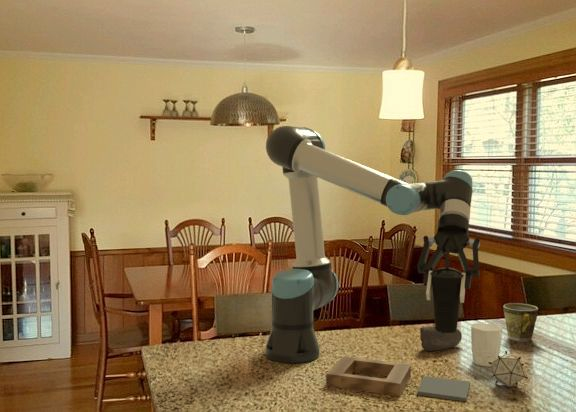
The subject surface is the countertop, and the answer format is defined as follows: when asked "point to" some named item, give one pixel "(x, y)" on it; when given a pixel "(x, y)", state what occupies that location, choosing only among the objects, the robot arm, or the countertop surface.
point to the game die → (508, 370)
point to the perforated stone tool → (438, 339)
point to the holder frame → (391, 385)
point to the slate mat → (444, 388)
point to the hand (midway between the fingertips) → (444, 298)
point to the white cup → (485, 343)
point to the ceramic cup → (520, 321)
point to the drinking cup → (446, 297)
